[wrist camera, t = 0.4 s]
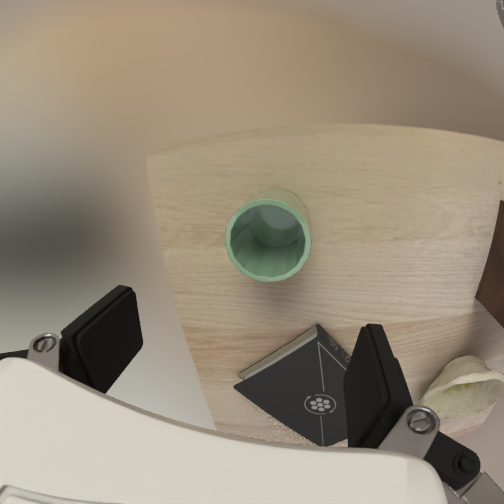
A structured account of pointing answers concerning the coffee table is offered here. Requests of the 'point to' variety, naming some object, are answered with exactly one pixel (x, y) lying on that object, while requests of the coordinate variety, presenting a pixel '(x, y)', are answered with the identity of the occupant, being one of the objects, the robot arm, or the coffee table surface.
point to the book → (302, 386)
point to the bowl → (463, 388)
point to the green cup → (269, 236)
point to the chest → (494, 274)
